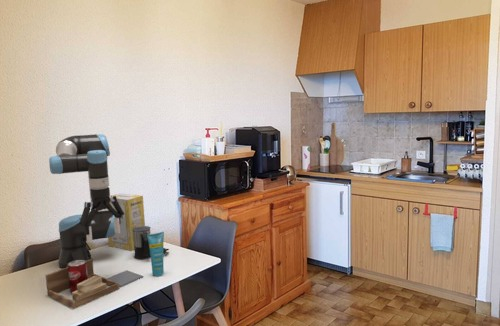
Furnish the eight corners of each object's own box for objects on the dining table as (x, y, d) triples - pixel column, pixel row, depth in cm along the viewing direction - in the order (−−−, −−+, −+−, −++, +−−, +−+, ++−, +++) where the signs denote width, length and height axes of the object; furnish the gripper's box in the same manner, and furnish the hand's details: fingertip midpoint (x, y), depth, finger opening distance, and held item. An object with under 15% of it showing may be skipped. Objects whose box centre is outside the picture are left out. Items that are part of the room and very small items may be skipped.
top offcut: (77, 291, 156) (76, 284, 155) (95, 282, 164) (94, 275, 163) (85, 293, 154) (84, 286, 154) (102, 284, 162) (101, 277, 162)
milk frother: (130, 257, 201) (128, 229, 199) (156, 248, 213) (154, 221, 211) (146, 263, 192) (144, 233, 190) (172, 253, 204) (170, 226, 202)
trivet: (103, 281, 173) (103, 279, 172) (126, 271, 182) (126, 270, 182) (120, 287, 165) (120, 285, 165) (143, 277, 175) (143, 275, 175)
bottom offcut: (72, 300, 156) (72, 292, 155) (99, 289, 166) (98, 281, 165) (80, 303, 153) (79, 295, 153) (106, 291, 163) (106, 283, 162)
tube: (152, 277, 174) (149, 236, 172) (148, 274, 178) (145, 233, 176) (168, 273, 178) (165, 232, 176) (164, 270, 182) (161, 230, 180)
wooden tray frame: (47, 295, 160) (45, 274, 159) (92, 278, 176) (90, 259, 175) (74, 309, 148) (71, 286, 147) (119, 288, 164) (117, 268, 163)
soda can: (77, 295, 159) (74, 267, 158) (66, 292, 163) (63, 264, 162) (92, 288, 165) (90, 261, 164) (81, 285, 169) (79, 258, 168)
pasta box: (108, 246, 219) (104, 197, 215) (123, 240, 228) (119, 193, 224) (132, 251, 210) (128, 199, 206) (146, 245, 219) (142, 195, 215)
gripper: (77, 194, 151) (82, 247, 154) (130, 183, 171) (133, 230, 174) (66, 192, 155) (71, 244, 158) (118, 181, 175) (122, 227, 178)
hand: (104, 237), depth 166 cm, fingers open, 13 cm apart
